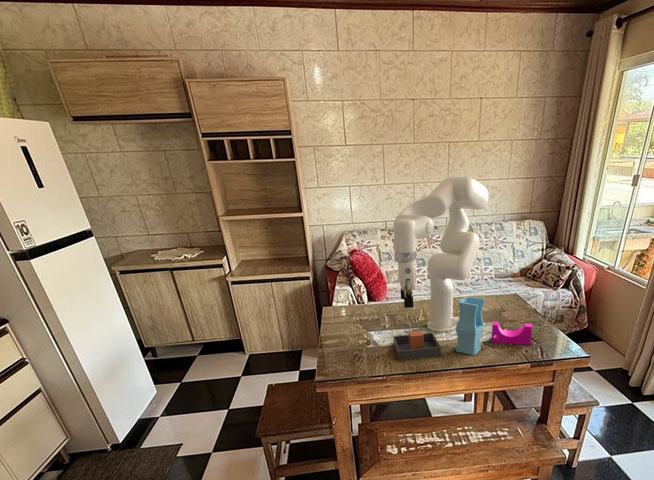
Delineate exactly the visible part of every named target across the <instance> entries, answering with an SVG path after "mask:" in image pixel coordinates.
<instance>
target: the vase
mask: <svg viewBox="0 0 654 480" xmlns="http://www.w3.org/2000/svg"><path fill="white" fill-rule="evenodd" d="M485 301H486V298H481V297H474V296H464V297H462V298H461V299H460V300H458V301H457V302H458V307H459V316H458V317H459V321H458V322H457V323H456V328H455V333H456V336H457V344H456V348H455V352H459V353H463V354H468V355H472V356H476V355H477V354H478V353H479V352H480V351H481V350H482V343H481V342H482V341H481V338H482V334H483V330H484V328H485V324H484V320H483V315H482V314H483V313H482V312H483V308H484V305H485Z"/></svg>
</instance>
